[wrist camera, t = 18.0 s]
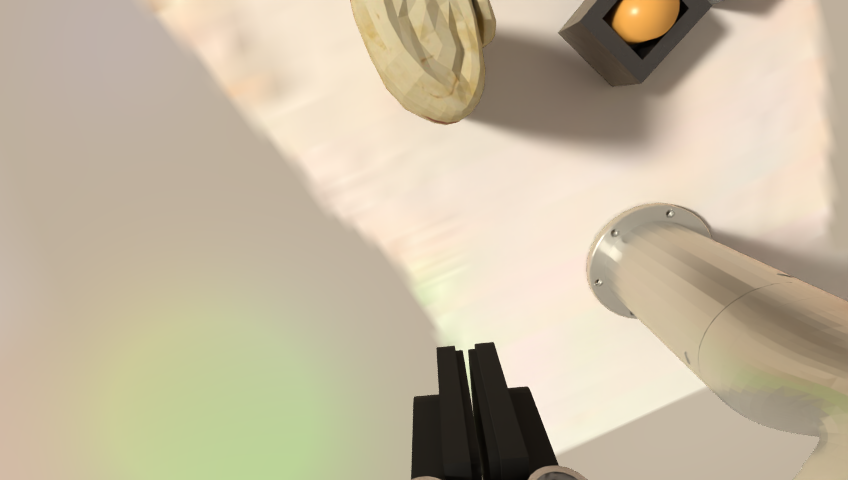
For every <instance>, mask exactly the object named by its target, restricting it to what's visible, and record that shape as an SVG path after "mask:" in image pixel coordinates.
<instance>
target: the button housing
mask: <svg viewBox="0 0 848 480" xmlns="http://www.w3.org/2000/svg"><path fill="white" fill-rule="evenodd" d="M616 1H617V0H585V1H584V2H583V3H582V4H581V6H580V7H579V8H578V9H577V10H576V12H575V13H574V14H573V15H572V17H571V18H570V19H569V20H568V21H567V23H566V24H565V25H564V26H563V28H562V29H561V30H560V31H559V32H558V33H559V34H560V35H561V36H562V37H563V38H564V39H565V40H566V41H567V42H568V43H569V44H570V45H571V46H572V47H573V48H574V49H575V50H576V51H577V52H578V53H579V54H580V55H581V56H582V57H583V58H584V59H585V60H586V61H587V62H588V63H589V64H590V65H591V66H592V67H593V68H594V69H595V70H596V71H597V72H598V73H599V74H600V75H601V76H602V77H603V78H604V79H605V80H606V81H607V82H608V83H609V84H610V85H611V86H612V87H613V86H622V85H631V84H641V83H642V82H643V81H644V80H645V79H646V78H647V76H648V75H649V74H650V73H651V72H652V71H653V70H654V69H655V68H656V67H657V65H658V64H659V63H660V62H661V61H662V60H663V59H664V58H665V57H666V56H667V55H668V53H669V52H670V51H671V50H672V49H673V48H674V47H675V46H676V45H677V44H678V43H679V41H680V40H681V39H682V38H683V37H684V36H685V35H686V34H687V33H688V32H689V30H690V29H691V28H692V27H693V26H694V25H695V24H696V23H697V22H698V21H699V20H700V18H701V17H702V16H703V15H704V14H705V13H706V12H707V11H708V10H709V9H710V7H711V6H712V5H711V4H710V2H709V1H708V0H679V2H680V6H679V13H678V16H677V19H676V21H675V22H674V24H673V25H672V27H671V28H670V29H669V30H668V31H667V32H666V33H665V34H663V35H661V36H659V37H657V38H654V39H651V40H647V41H644V42H640V43H637V44H634V45H630V46H628V45H627V44H626V43H625V42H624V41H623V39H622V38H621V37H620V36H619V35H618V34H617V33H616V32H615V31H614V30H613V29H612V28H611V27H610V26H609V25H608V24H607V23H606V22H605V21H604V20H603V19H602V18H603V17H604V16H605V15H606V13H607V12H608V11H609V10H610V9H611V7H612V6H613V5H614V4H615V3H616Z"/></svg>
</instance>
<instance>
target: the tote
mask: <svg viewBox="0 0 848 480" xmlns="http://www.w3.org/2000/svg"><path fill="white" fill-rule="evenodd" d="M708 1H709V2H710V4H711V5H712V4H715V3H718V2H720V1H723V0H708Z"/></svg>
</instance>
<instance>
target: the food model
mask: <svg viewBox="0 0 848 480" xmlns="http://www.w3.org/2000/svg"><path fill="white" fill-rule="evenodd" d="M350 2H351V6H352V10H353V15H354V18H355V21H356V24H357V26H358V29H359V31H360V34H361V36H362V39H363V41H364V44H365V46H366V48H367V51H368V53H369V55H370V58H371V60H372V62H373V64H374V65H375V67H376V69H377V71H378V73H379V75H380V77H381V79H382V81H383V83H384V85H385V87H386V88H387V90H388V91H389V92H390V93H391V94H392V95H393V96H394V97H395V98H396V99H397V101H398V102H399V103H400V104H401V105H402V106H403V107H404V108H405V109H406V110H408V111H410V112H412V113H414V114H416V115H418V116H419V117H421V118H424V119H426V120H429V121H431V122H433V123H438V124H444V125H448V124H452V123H456V122H459V121H460V120H462V119H463V118H464V117H466V116H467V115H469V114H470V113H471V112H472V111H473V110H474V108H475V107H476V106H477V104H478V103H479V101H480V98H481V95H482V92H483V90H484V82H485V64H484V58H483V52H482V48H483V47H485V46H486V45H487V44H489V43H490V42H491V41H492V39H493V38H494V36H495V29H496V19H495V16H494V13H493V10H492V7H491V4H490V1H489V0H350Z"/></svg>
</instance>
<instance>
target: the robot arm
mask: <svg viewBox="0 0 848 480" xmlns="http://www.w3.org/2000/svg"><path fill="white" fill-rule="evenodd" d="M666 212H667V213H666ZM612 230H613V232H611V231H612ZM586 272H587V280H588V283H589V286H590V289H591V290H592V292H593V294H594V295H595V297H596V298H597V299H598V300H599V301H600V303H601V304H602V305H604V306H605V307H606V308H607V309H608V310H610V311H612V312H614V313H615V314H617V315H620V316H623V317H627V318H634V319H639V320H640V321H641V322H642V323H643V324H644V325H645V326H646V327H647V328H648V329H649V330H650V331H651V332H652V333H653V334H654V335H655V336H656V337H657V338H659V339H660V340H661V341H662V342H663V343H664V344H665V345H666V346H667V347H668V348H669V349H670V350H671V351H672V352H673V353H674V354H675V355H676V356H677V357H678V358H679V359H680V360H681V361H682V362H683V363H684V364H685V365H686V366H687V367H688V368H689V369H690V370H691V371H692V372H693V373H694V374H695V375H696V376H697V377H698V378H699V379H700V380H701V381H702V382H703V383H704V384H705V385H707V386H708V387H709V388H710V389H711V390H712V391H713V392H714V393H715V394H716V395H717V396H718V397H719V398H720V399H721V400H722V401H723V402H725V403H726V404H727V405H728V406H729V407H730V408H732V409H733V410H734V411H736V412H738V413H739V414H740V415H742V416H744V417H746V418H748V419H750V420H752V421H754V422H756V423H758V424H761V425H764V426H767V427H770V428H774V429H777V430H781V431H786V432H791V433H796V434H802V435H809V436H818V437H820V440H819V442H818V444H817V447H816V448H815V449H814V451H813V452H812V454H811V455H810V456H809V458H808V459H807V460H806V462H805V463H804V464H803V466H802V469H801V470H800V471H799V473H798V474H797V475H796V476H795V477H794V479H793V480H848V301H846V300H844V299H841V298H839V297H837V296H835V295H833V294H830V293H828V292H826V291H824V290H822V289H819V288H817V287H815V286H813V285H810V284H808V283H806V282H804V281H802V280H799V279H797V278H795V277H793V276H791V275H788V274H786V273H784V272H782V271H780V270H778V269H775V268H773V267H771V266H769V265H767V264H764V263H762V262H760V261H758V260H756V259H753V258H751V257H749V256H747V255H745V254H742V253H740V252H738V251H736V250H734V249H732V248H729V247H727V246H725V245H723V244H721V243H718V242H716V241H714V240H712V237H711V234H710V232H709V230H708V228H707V226H706V225H705V224H704V223H703V222H702V220H701V219H700V218H699V217H697V216H696V215H694V214H693V213H692V212H690V211H688V210H685V209H683V208H681V207H678V206H674V205H671V204H663V203H654V204H645V205H641V206H638V207H634V208H632V209H630V210H628V211H625V212H623V213H622V214H620V215H619V216H617V217H616V218H614V219H613V220H612V221H610V222H609V223H608V224H607V225H606V226H605V227H604V228H603V229H602V231H601V232H600V233H599V234H598V236H597V237H596V239H595V241H594V242H593V244H592V246H591V248H590V252H589V255H588V258H587V267H586ZM596 280H597V281H596ZM468 354H469V367H470V379H471V391H472V403H473V410H472V404H471V398H470V392H469V386H468V380H467V374H466V368H465V362H464V356H463V350H459V351H455V346H447V347H437V364H438V382H439V395H427V396H416V397H414V403H413V438H412V470H411V480H482V478H483V480H587V479H586V478H585V477H583V476H582V475H581V474H579V473H578V472H576V471H574V470H572V469H569V468H567V467H562V466H559V465H558V462H557V460H556V457H555V454H554V452H553V449H552V447H551V444H550V441H549V439H548V436H547V433H546V431H545V428H544V426H543V423H542V420H541V418H540V415H539V412H538V410H537V407H536V405H535V402H534V399H533V397H532V394H531V392H530V389H529V388H528V387H516V388H507V384H506V381H505V378H504V374H503V371H502V368H501V365H500V361H499V358H498V355H497V351H496V348H495V345H494V343H493V342H490V343H479V344H475V349H470V350H468ZM473 415H474V416H473Z"/></svg>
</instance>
